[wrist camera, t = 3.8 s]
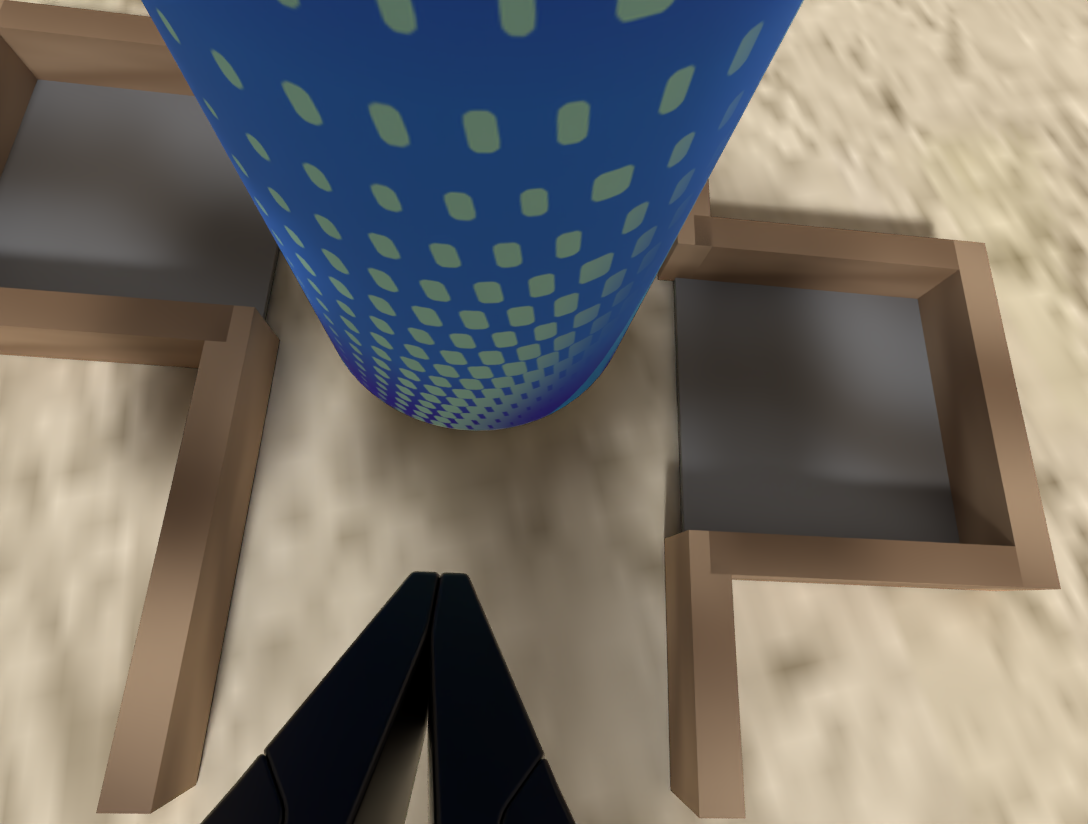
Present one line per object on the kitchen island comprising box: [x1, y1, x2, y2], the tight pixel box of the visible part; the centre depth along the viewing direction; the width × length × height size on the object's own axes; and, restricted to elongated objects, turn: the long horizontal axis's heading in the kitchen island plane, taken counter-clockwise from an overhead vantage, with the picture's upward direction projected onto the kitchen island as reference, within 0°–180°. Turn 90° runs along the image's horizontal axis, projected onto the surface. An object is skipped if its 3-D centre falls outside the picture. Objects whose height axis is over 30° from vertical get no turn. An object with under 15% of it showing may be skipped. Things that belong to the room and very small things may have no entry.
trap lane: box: [0, 0, 1061, 818], centre depth 17 cm, size 28×30×4 cm
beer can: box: [142, 0, 804, 431], centre depth 10 cm, size 8×8×16 cm
